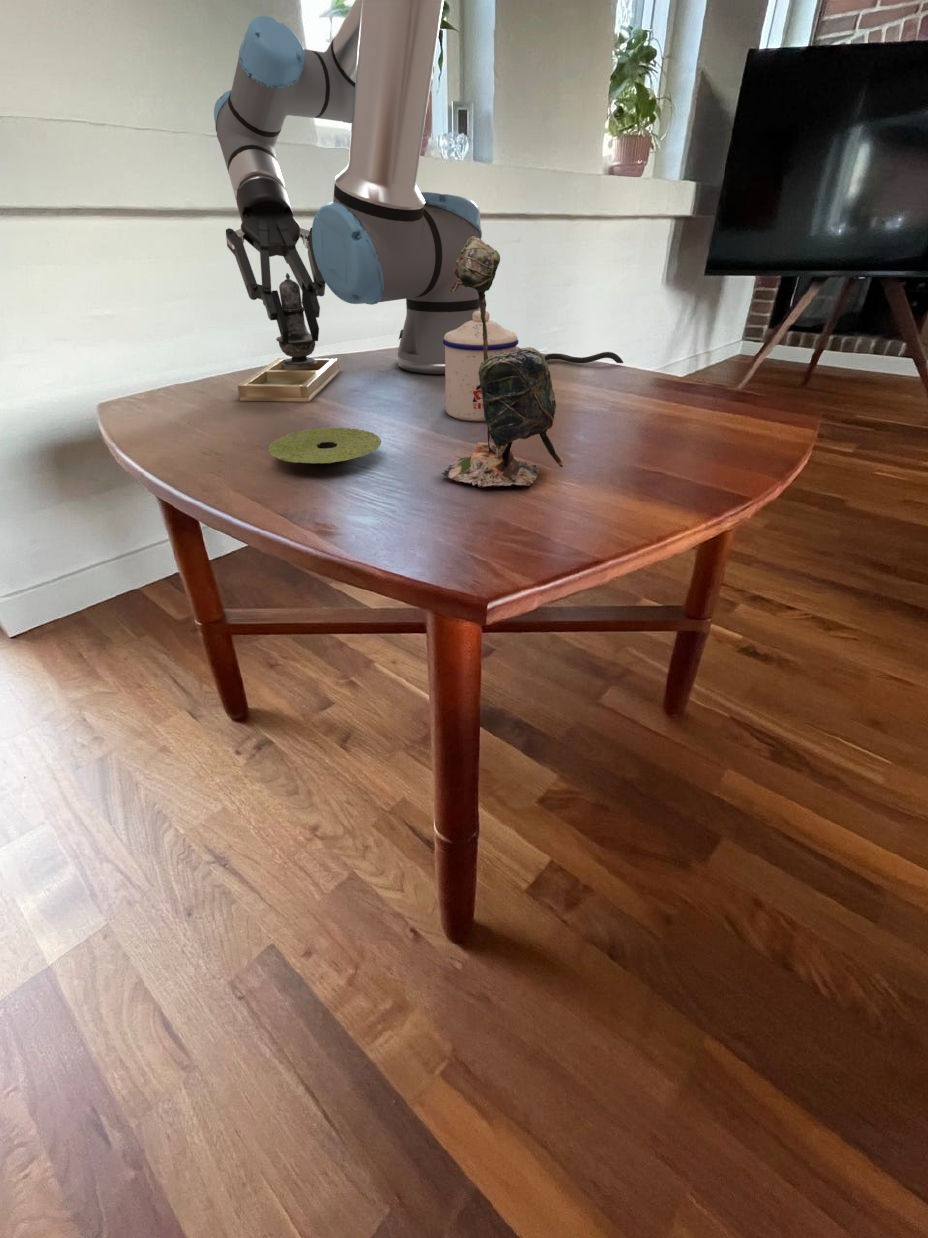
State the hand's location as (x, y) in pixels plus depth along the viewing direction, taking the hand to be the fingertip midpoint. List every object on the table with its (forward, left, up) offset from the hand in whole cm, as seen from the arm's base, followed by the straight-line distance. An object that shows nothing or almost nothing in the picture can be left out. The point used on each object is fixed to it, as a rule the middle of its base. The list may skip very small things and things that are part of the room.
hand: (301, 335), depth 88 cm
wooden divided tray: (+2, +1, -7) cm, 7 cm away
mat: (-11, +33, -7) cm, 35 cm away
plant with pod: (-29, +37, -7) cm, 47 cm away
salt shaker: (+2, -4, -5) cm, 6 cm away
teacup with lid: (-27, +13, -7) cm, 31 cm away
